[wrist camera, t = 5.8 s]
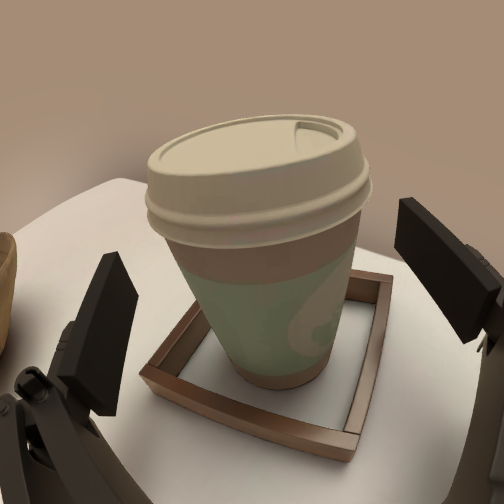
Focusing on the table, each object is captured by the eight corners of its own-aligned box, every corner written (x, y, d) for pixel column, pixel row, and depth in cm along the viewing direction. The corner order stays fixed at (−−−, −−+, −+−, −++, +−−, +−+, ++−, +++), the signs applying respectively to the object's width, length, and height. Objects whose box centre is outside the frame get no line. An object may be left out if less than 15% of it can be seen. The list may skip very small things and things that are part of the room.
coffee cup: (302, 441, 12) (285, 208, 5) (181, 363, 17) (94, 172, 10) (377, 324, 17) (398, 119, 10) (266, 281, 22) (238, 111, 15)
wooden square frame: (389, 297, 19) (393, 274, 18) (349, 462, 11) (355, 451, 10) (238, 272, 24) (234, 250, 22) (152, 391, 16) (138, 373, 14)
